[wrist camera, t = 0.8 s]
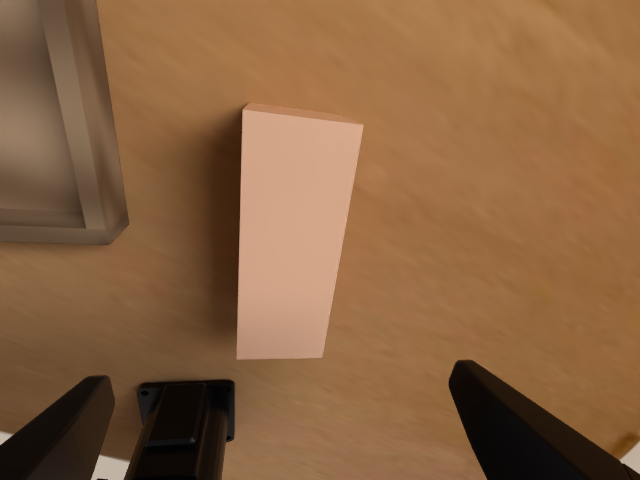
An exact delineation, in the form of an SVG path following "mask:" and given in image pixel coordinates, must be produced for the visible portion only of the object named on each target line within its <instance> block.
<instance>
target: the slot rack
mask: <svg viewBox="0 0 640 480" xmlns="http://www.w3.org/2000/svg"><path fill="white" fill-rule="evenodd" d="M128 225H129V220H128V213H127V207H126V200H125V193H124V186H123V180H122V173H121V166H120V159H119V153H118V146H117V139H116V133H115V126H114V119H113V112H112V106H111V99H110V92H109V85H108V79H107V72H106V65H105V59H104V52H103V45H102V38H101V32H100V25H99V18H98V11H97V5H96V0H0V241H6V242H34V243H62V244H89V245H109V244H110V243H111V242H112V241H113V240H114V239H115V238H116V237H117V236H118V235H119V234H120V233H121V232H122V231H123V230H124V229H125V228H126V227H127V226H128Z"/></svg>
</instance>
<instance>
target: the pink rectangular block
mask: <svg viewBox="0 0 640 480" xmlns="http://www.w3.org/2000/svg"><path fill="white" fill-rule="evenodd" d="M363 126H364V125H363V124H360V123H358V122H355V121H353V120H351V119H348V118H346V117H343V116H341V115H339V114H332V113H324V112H317V111H309V110H301V109H294V108H286V107H279V106H271V105H263V104H256V103H248V104H247V106H246V107H245V108H244V109H243V116H242V157H241V199H240V240H239V281H238V323H237V360H239V359H287V358H322V356H323V351H324V345H325V339H326V334H327V328H328V322H329V317H330V311H331V306H332V300H333V294H334V289H335V283H336V278H337V272H338V266H339V261H340V255H341V250H342V244H343V238H344V233H345V227H346V221H347V216H348V210H349V205H350V199H351V193H352V188H353V182H354V177H355V171H356V165H357V160H358V154H359V149H360V143H361V137H362V132H363Z"/></svg>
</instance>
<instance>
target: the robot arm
mask: <svg viewBox="0 0 640 480" xmlns="http://www.w3.org/2000/svg"><path fill="white" fill-rule="evenodd" d="M449 389H450V392H451V395H452V397H453V400H454V403H455V405H456V408H457V411H458V413H459V416H460V419H461V421H462V424H463V427H464V429H465V432H466V434H467V437H468V439H469V442H470V444H471V447H472V449H473V451H474V453H475V455H476V457H477V459H478V462H479V464H480V466H481V468H482V470H483V472H484V474H485V476H486V478H487V480H640V474H638V473H637V472H636V471H634V470H633V469H631V468H630V467H628V466H627V465H625V464H622V463H621V462H620V461H619V460H618V459H617V458H615V457H614V456H612V455H611V454H609V453H608V452H606V451H605V450H603V449H602V448H600V447H599V446H597V445H596V444H595V443H593V442H592V441H590V440H589V439H587V438H586V437H584V436H583V435H581V434H580V433H578V432H577V431H575V430H574V429H573V428H571V427H570V426H568V425H567V424H565V423H564V422H562V421H561V420H559V419H558V418H556V417H555V416H553V415H552V414H551V413H549V412H548V411H546V410H545V409H543V408H542V407H540V406H539V405H537V404H536V403H534V402H533V401H532V400H530V399H529V398H527V397H526V396H524V395H523V394H521V393H520V392H518V391H517V390H515V389H514V388H512V387H511V386H510V385H508V384H507V383H505V382H504V381H502V380H501V379H499V378H498V377H496V376H495V375H493V374H492V373H490V372H489V371H488V370H486V369H485V368H483V367H482V366H480V365H479V364H477V363H476V362H474V361H472V360H458V361H457V362H456V363H455V365H454V368H453V370H452V373H451V375H450V378H449ZM137 396H138V402H139V407H140V413H141V418H142V424H143V428H142V431H141V433H140V436H139V439H138V442H137V444H136V447H135V450H134V453H133V455H132V458H131V461H130V464H129V467H128V469H127V472H126V475H125V477H124V480H221V479H222V470H223V462H224V453H225V444H226V442H230V441H232V440H233V439H234V435H235V383H234V382H233V381H231V380H221V381H194V382H168V383H145V384H142V385H140V387H139V389H138V391H137ZM114 405H115V398H114V394H113V390H112V385H111V381H110V378H109V377H108V376H107V375H97V376H88V377H86V378H85V379H83V380H82V381H81V382H79V383H78V384H77V385H76V386H74V387H73V388H72V389H71V390H69V391H68V392H67V393H66V394H64V395H63V396H62V397H61V398H59V399H58V400H57V401H56V402H54V403H53V404H52V405H51V406H49V407H48V408H47V409H45V410H44V411H43V412H42V413H40V414H39V415H38V416H37V417H35V418H34V419H33V420H32V421H30V422H29V423H28V424H27V425H25V426H24V427H23V428H22V429H20V430H19V431H18V432H16V433H15V434H14V435H13V436H11V437H10V438H9V439H8V440H6V441H5V442H4V443H3V444H1V445H0V480H91V478H92V474H93V472H94V469H95V465H96V463H97V460H98V457H99V453H100V450H101V447H102V444H103V441H104V438H105V435H106V432H107V429H108V425H109V422H110V419H111V416H112V413H113V410H114ZM97 480H108V479H97Z"/></svg>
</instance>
